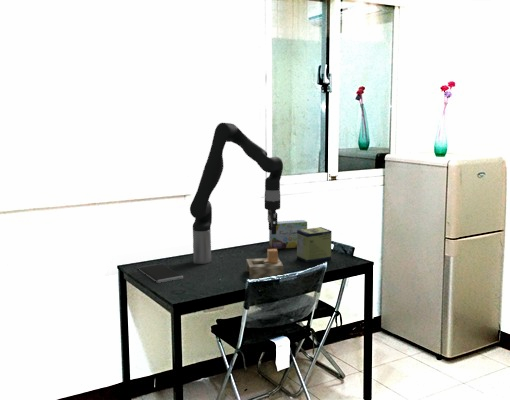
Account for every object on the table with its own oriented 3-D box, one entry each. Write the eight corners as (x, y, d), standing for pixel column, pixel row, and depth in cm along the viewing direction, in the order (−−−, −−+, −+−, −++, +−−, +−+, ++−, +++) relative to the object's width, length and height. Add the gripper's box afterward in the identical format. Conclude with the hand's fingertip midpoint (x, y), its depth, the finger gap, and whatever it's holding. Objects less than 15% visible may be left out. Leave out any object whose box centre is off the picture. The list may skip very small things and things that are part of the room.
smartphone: (162, 266, 303) (162, 263, 303) (184, 279, 280) (183, 276, 280) (137, 270, 296) (137, 267, 296) (157, 284, 273) (157, 280, 273)
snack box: (271, 249, 330) (271, 223, 328) (269, 247, 336) (268, 221, 333) (307, 246, 336) (307, 221, 333) (303, 244, 341) (304, 219, 339)
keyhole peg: (268, 270, 283) (268, 251, 281) (267, 267, 287) (267, 249, 286) (277, 269, 284) (277, 250, 282) (276, 267, 288) (276, 248, 286)
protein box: (331, 259, 310) (332, 230, 308) (306, 263, 304) (306, 233, 301) (320, 254, 320) (321, 226, 317) (296, 258, 313) (296, 229, 310)
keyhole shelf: (250, 279, 277) (249, 267, 276) (246, 270, 291) (246, 259, 290) (283, 277, 280) (283, 265, 278) (278, 269, 293) (278, 257, 292)
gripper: (262, 196, 286) (262, 229, 289) (266, 201, 272) (266, 235, 275) (277, 196, 287) (277, 228, 290) (282, 201, 273) (282, 235, 276)
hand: (272, 232), depth 282 cm, fingers open, 8 cm apart
